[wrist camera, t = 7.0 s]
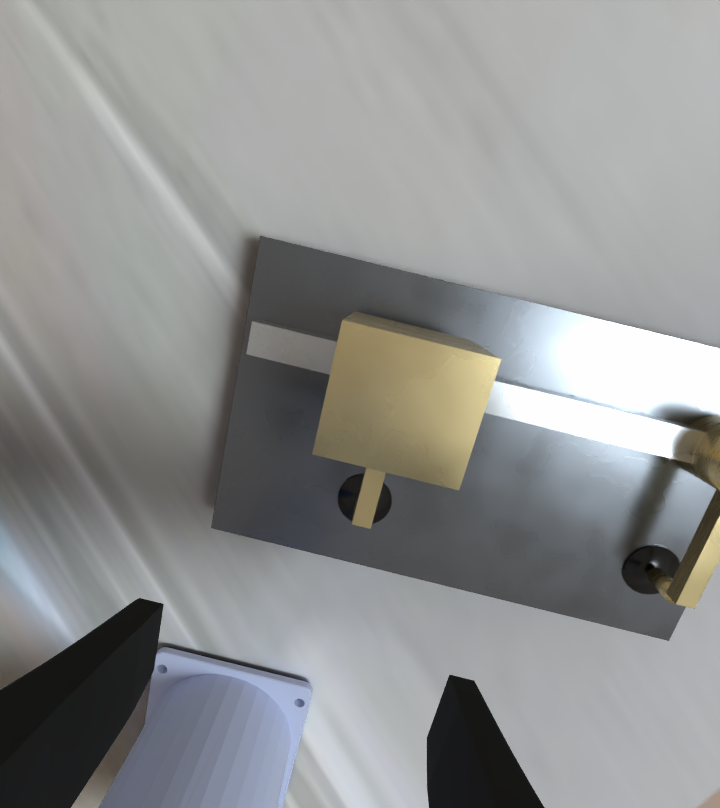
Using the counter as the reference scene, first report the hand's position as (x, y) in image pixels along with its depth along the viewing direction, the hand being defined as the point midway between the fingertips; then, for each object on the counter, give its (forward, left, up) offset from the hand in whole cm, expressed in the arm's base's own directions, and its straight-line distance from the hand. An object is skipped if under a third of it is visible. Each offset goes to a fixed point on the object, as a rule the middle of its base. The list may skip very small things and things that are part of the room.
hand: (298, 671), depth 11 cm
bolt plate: (+4, -5, -9) cm, 11 cm away
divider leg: (+4, -1, -7) cm, 9 cm away
